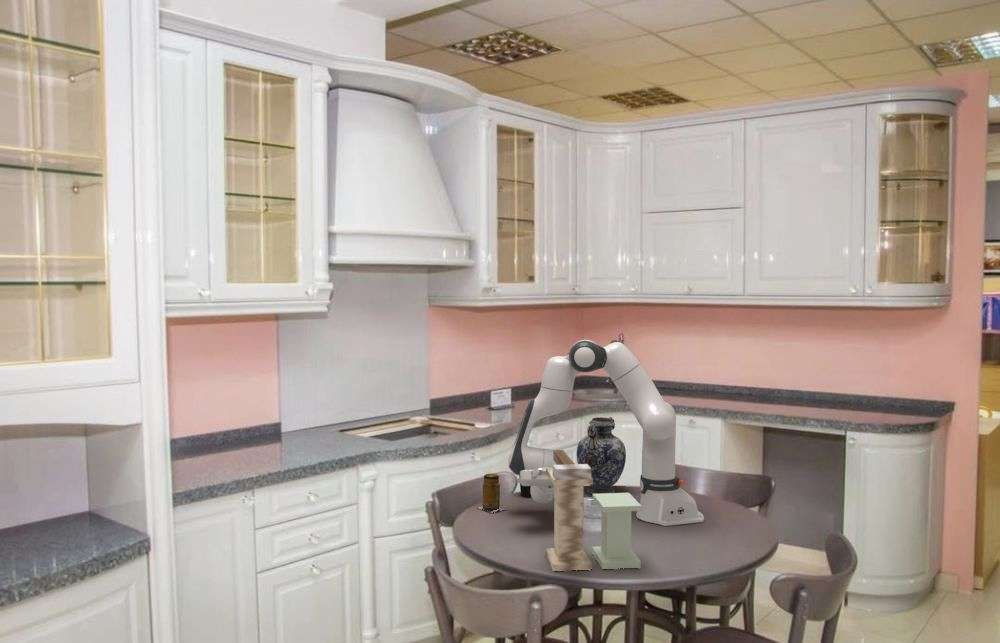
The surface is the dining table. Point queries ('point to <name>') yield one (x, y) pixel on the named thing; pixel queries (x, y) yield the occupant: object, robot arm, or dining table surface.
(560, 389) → the robot arm
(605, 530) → the pedestal low
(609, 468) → the decorative vase
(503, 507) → the dining table surface
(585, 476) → the mallet
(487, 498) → the condiment
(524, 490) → the cup
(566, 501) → the pedestal tall
